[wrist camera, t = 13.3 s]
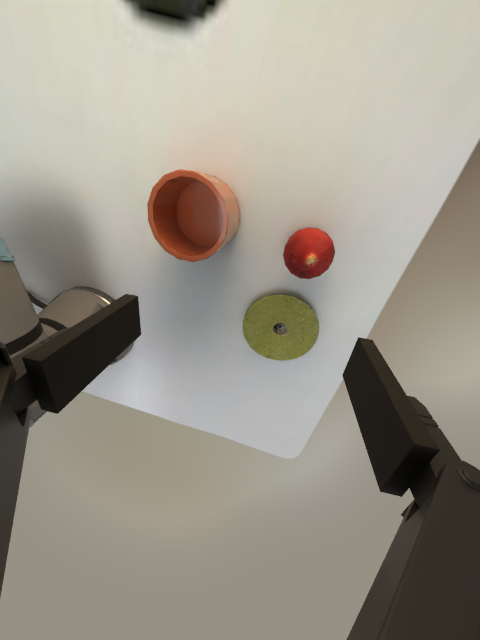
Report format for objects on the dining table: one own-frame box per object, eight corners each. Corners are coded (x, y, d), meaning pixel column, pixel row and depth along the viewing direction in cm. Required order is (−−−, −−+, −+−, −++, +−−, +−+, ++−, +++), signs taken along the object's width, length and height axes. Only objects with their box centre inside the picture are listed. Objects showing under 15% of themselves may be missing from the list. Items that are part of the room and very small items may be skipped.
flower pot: (174, 244, 35) (149, 253, 29) (174, 171, 31) (145, 164, 25) (235, 255, 34) (223, 267, 28) (244, 181, 30) (232, 176, 24)
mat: (289, 365, 41) (289, 372, 39) (232, 331, 40) (230, 337, 38) (333, 316, 36) (335, 322, 34) (269, 275, 35) (268, 279, 33)
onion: (312, 277, 34) (318, 298, 27) (276, 257, 33) (272, 273, 26) (338, 238, 31) (352, 250, 24) (299, 216, 30) (301, 222, 23)
